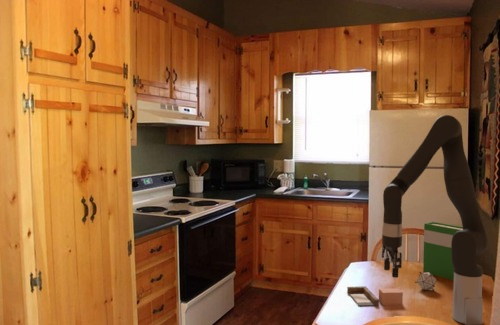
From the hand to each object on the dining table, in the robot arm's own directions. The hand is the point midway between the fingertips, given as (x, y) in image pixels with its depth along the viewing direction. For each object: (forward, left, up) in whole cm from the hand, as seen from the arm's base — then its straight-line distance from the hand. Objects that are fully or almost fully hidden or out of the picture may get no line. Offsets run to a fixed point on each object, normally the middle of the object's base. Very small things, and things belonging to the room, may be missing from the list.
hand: (390, 273), depth 172 cm
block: (-1, 0, -12) cm, 12 cm away
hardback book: (+29, -39, -12) cm, 50 cm away
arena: (+4, +10, -12) cm, 16 cm away
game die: (+11, -21, -12) cm, 27 cm away
